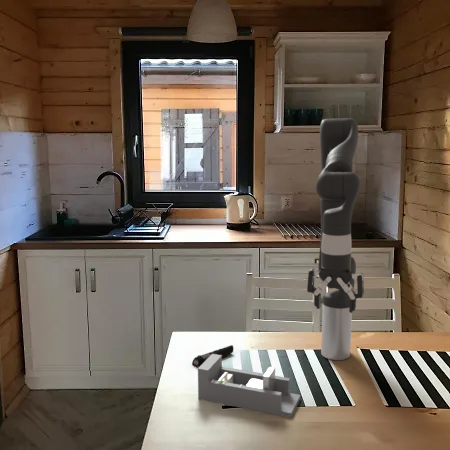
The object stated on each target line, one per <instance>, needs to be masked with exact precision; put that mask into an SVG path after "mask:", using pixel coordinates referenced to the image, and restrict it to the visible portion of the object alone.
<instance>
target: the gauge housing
mask: <svg viewBox="0 0 450 450" xmlns="http://www.w3.org/2000/svg"><path fill="white" fill-rule="evenodd" d="M225 372H228V373H229V374H233V383H227V382H226V381H221V382H220V383H219V382H218V380H219V379H220V377H221V376H222V375H223V374H224V373H225ZM264 374H265V373H261V372H257V371H256V372H255V371H251V370H250V371H249V370H244V369H238V368H233V367H228V366H223V358H222V355H217V354H211V355H210V357H209V358H208V359H207V360H206V361H205V362H204V363H203V364H202V365H201V366H200V367H198V368H197V392H198V393H197V395H198V397H197V399H198V400H199V401H200V400H202V401H204V402H205V401H206V402H211V403H217V404H221V405H226V406H231V407H236V408H240V409H241V408H242V409H245V410H250V411H251V410H252V411H257V412H262V413H267V414H272V415H276V416H282V417H286V418H292V417H293V415H294V413H295V410H296V408H297V407H298V405H299V403H300V401H301V394H298V393H291V391H290V390H291V389H290V388H291V387H290V386H291V378H290V377H286V376H281V375H280V376H279V375H275V389H274V390H273V391H271V390H266V389H260V388H255V387H249V386H246V385H247V384H248V382H249V381H250V380H251V378H258V379H263V375H264Z"/></svg>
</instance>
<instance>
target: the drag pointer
mask: <svg viewBox="0 0 450 450" xmlns="http://www.w3.org/2000/svg"><path fill="white" fill-rule="evenodd" d="M221 381H226V382H227V383H233V374H229V373H228V372H225V373H224V374H223V375H222V376H221V377H220V379H219V380H218V382H219V383H220V382H221Z"/></svg>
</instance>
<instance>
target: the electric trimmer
mask: <svg viewBox="0 0 450 450" xmlns="http://www.w3.org/2000/svg"><path fill="white" fill-rule="evenodd" d="M233 353H234V346H233V345H232V344H231V345H228V346H225V347H222V348H219V349H216V350H213V351H210V352H206V353H205V354H202V355H201V354H199V355H197V356H195V357H194V358H193V360H192V362H191V364H192V366H193V367H195V368H197V369H198V368H199V367H200V366H201V365H202V364H203V363H204V362H205V361H206V360H207V359H208V358H209V357H210V355H211V354H217V355H222V359H223V358H225V357H227V356H229V355H231V354H233Z"/></svg>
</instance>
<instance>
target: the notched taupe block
mask: <svg viewBox="0 0 450 450" xmlns="http://www.w3.org/2000/svg"><path fill="white" fill-rule="evenodd" d="M263 374H264V375H263V379H258V378H251V380H250V381H249V382H248V384H247V385H246V386H249V387H255V388H260V389H266V390H271V391H273V390H274V389H275V376H276V367H274V366H269V367H268V368H267V369H266V371H265V373H263Z"/></svg>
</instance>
